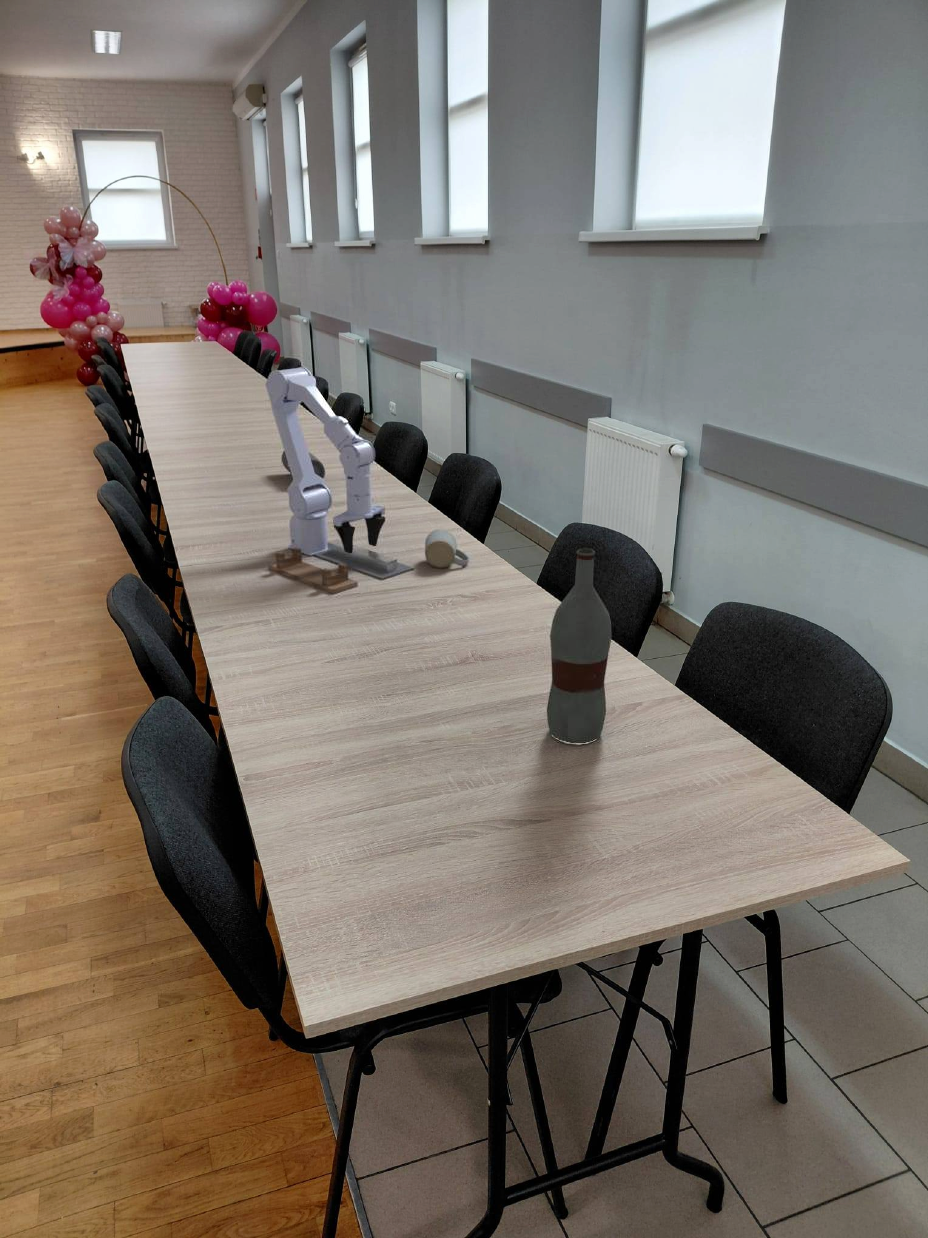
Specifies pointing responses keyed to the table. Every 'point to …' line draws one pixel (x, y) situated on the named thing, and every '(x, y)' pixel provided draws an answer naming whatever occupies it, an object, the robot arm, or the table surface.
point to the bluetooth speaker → (316, 465)
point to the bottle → (579, 659)
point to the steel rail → (363, 556)
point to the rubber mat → (364, 566)
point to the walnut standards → (312, 572)
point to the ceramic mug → (443, 550)
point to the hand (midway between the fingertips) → (360, 548)
